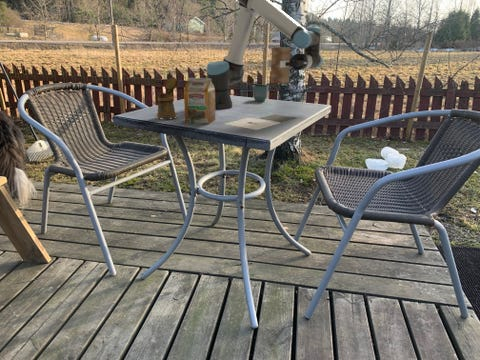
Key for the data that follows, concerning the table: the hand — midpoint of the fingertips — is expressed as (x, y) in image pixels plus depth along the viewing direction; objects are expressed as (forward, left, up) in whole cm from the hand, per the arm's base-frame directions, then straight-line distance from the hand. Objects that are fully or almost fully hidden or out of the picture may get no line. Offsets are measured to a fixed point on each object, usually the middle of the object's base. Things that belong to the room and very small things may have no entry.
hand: (274, 64), depth 162 cm
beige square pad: (-2, -12, -25) cm, 27 cm away
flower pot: (-37, +42, -25) cm, 61 cm away
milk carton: (-22, -24, -25) cm, 41 cm away
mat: (0, +5, -25) cm, 25 cm away
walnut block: (0, +5, -8) cm, 10 cm away
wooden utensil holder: (-41, -26, -25) cm, 55 cm away
